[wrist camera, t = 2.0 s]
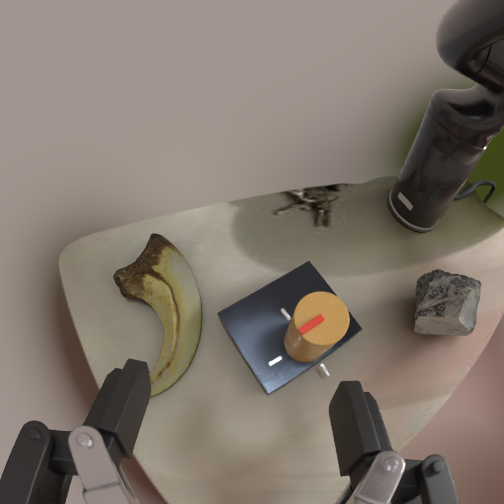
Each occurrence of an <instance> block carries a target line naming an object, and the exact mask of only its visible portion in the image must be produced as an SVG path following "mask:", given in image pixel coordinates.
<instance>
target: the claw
mask: <svg viewBox="0 0 504 504" xmlns="http://www.w3.org/2000/svg"><path fill="white" fill-rule="evenodd" d="M114 280H115V283H116V285H117V286H118V287H119V288H120V291H121V294H122V295H123V296H124V297H125V298H140V299H143V300H144V301H146V302H147V303H148V304H150V305H151V306H152V308H153V309H154V310H155V312H156V313H157V315H158V316H159V318H160V320H161V323H162V325H163V329H164V341H163V347H162V351H161V354H160V357H159V359H158V361H157V363H156V365H155V367H154V369H153V371H152V372H151V374H150V375H149V376H150V381H151V395H150V397H151V396H154V395H156V394H159V393H161V392H162V391H164V390H165V389H167V388H168V387H170V386H171V385H172V384H173V383H174V382H175V381H176V380H177V379H178V378H179V377H180V376H181V375H182V374H183V372H184V371H185V370H186V369H187V367H188V366H189V364H190V362H191V359H192V358H193V356H194V353H195V351H196V348H197V344H198V341H199V336H200V330H201V303H200V301H201V300H200V294H199V290H198V286H197V283H196V279H195V277H194V274H193V272H192V270H191V268H190V266H189V265H188V263H187V261H186V260H185V258H184V256H183V255H182V254H181V253H180V252H179V251H178V249H177V248H176V247H175V246H174V245H173V244H172V243H170V242H169V241H168V240H167V239H166V238H164V237H163V236H162V235H159V234H151V237H150V239H149V241H148V243H147V246H146V248H145V250H144V251H143V252H142V254H141V255H140V256H139V257H138V258H137V260H136V261H135V262H134V263H132V264H131V265H129V266H127V267H125V268H122V269H119V270H117V271H116V273H115V274H114Z"/></svg>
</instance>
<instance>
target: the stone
mask: <svg viewBox="0 0 504 504" xmlns="http://www.w3.org/2000/svg"><path fill="white" fill-rule="evenodd" d="M480 287H481V283H480V281H478V280H475V279H473V278H469V277H468V276H464V275H459V274H451V273H449V272H444V271H442V270H439V269H438V270H435V271H432V272H431V273H426V274H424V275H423V276H421V277H420V278H419V279H418V281H417V286H416V296H417V305H416V313H415V326H414V330H415V332H417V333H421V334H438V335H459V336H460V335H462V336H467V335H468V334H471V333H472V332H473V329H474V327H475V324H476V313H477V307H478V302H479V299H480Z"/></svg>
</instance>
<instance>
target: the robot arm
mask: <svg viewBox="0 0 504 504" xmlns="http://www.w3.org/2000/svg"><path fill="white" fill-rule="evenodd" d="M436 47H437V51H438V54H439V56H440V58H441V59H442V60H443V62H444V63H445V64H446V65H447V66H449V67H450V68H451V69H453V70H454V71H456V72H457V73H459V74H461V75H463V76H464V77H467V78H468V79H470V80H472V81H474V82H476V83H477V84H476V85H475V86H474V87H472V88H469V89H465V90H454V89H439V90H436V91H435V92H434V93H433V95H432V98H431V100H430V103H429V106H428V109H427V111H426V113H425V116H424V118H423V121H422V124H421V126H420V129H419V131H418V133H417V136H416V138H415V141H414V143H413V145H412V148H411V150H410V152H409V155H408V157H407V159H406V161H405V163H404V165H403V168H402V170H401V172H400V174H399V176H398V178H397V180H396V182H395V184H394V187H393V188H392V189H391V191H390V193H389V196H388V204H389V207H390V209H391V211H392V213H393V214H394V216H395V217H396V218H397V219H398V220H399V221H400V222H401V223H402V224H403V225H405V226H406V227H408V228H410V229H412V230H414V231H418V232H428V231H431V230H432V229H433V228H434V227H435V226H436V225H437V223H438V221H439V220H440V218H441V217H442V216H443V214H444V213H445V211H446V210H447V209H448V207H449V206H450V204H451V203H452V201H453V200H458V199H461V198H463V197H465V196H467V195H469V194H470V193H472V191H473V190H474V189H475V188H476V187H477V186H480V185H491V186H492V188H491V190H490V192H489V193H488V194H487V196H486V197H485V199H484V200H483V202H484V203H485V204H486V202H487V201H488V199H489V198H490V197H491V195H492V194H493V193H494V191H495V188H496V186H495V183H494V182H493V181H490V180H483V181H478V182H475V183H473V184H472V185H471V187H470V188H469V189H467V190H465V191H463V192H462V193H459V191H460V190H461V188H462V187H463V185H464V183H465V182H466V180H467V179H468V177H469V176H470V174H471V172H472V171H473V169H474V168H475V166H476V164H477V162H478V161H479V159H480V157H481V156H482V154H483V152H484V150H485V149H486V147H487V145H488V143H489V142H490V140H491V139H492V138H493V137H494V136H496V135H497V134H498V133H499V132H500V131H501V129H502V128H503V126H504V0H457V1H456V2H455V3H454V4H452V5H451V6H450V7H449V9H448V10H447V11H446V13H445V14H444V15H443V17H442V19H441V21H440V23H439V26H438V29H437V33H436ZM458 193H459V194H458ZM150 395H151V381H150V376H149V371H148V366H147V363H146V362H143V361H138V360H134V359H128V360H127V362H126V364H125V366H124V368H123V370H122V369H118V368H115V369H114V370H113V371H112V372H111V373H109V374H108V375H107V377H106V379H105V381H104V383H103V386H102V387H101V389H100V391H99V394H98V395H97V397H96V399H95V401H94V403H93V405H92V408H91V410H90V412H89V414H88V416H87V418H86V420H85V422H84V424H83V425H82V426H79V427H77V428H75V429H73V430H72V431H58V430H49V429H48V428H47V427H46V426H45V424H43V423H42V422H39V421H30V422H27V423H26V424H25V425H24V426H23V427H22V429H21V431H20V433H19V435H18V438H17V440H16V442H15V445H14V446H13V449H12V452H11V454H10V456H9V459H8V461H7V464H6V466H5V469H4V471H3V474H2V477H1V480H0V504H65V502H66V498H67V495H68V491H69V487H70V484H71V480H72V477H73V475H76V476H79V477H80V480H81V482H82V485H83V489H84V491H83V498H84V501H85V503H86V504H140V503H139V501H138V499H137V498H136V496H135V494H134V492H133V490H132V488H131V487H130V485H129V483H128V481H127V479H126V477H125V475H124V473H123V471H122V468H121V466H120V463H121V460H122V457H125V458H128V459H131V455H132V452H133V449H134V445H135V442H136V439H137V436H138V433H139V429H140V426H141V423H142V420H143V417H144V414H145V411H146V408H147V405H148V402H149V399H150ZM329 416H330V421H331V426H332V431H333V437H334V442H335V447H336V453H337V458H338V464H339V469H340V475H341V476H348V475H349V476H350V482H349V483H348V484H347V486H346V488H345V489H344V491H343V492H342V494H341V495H340V497H339V498H338V500H337V501H336V503H335V504H389V503H390V501H391V504H459V500H458V496H457V493H456V489H455V485H454V481H453V478H452V475H451V471H450V468H449V465H448V462H447V460H446V459H445V458H444V457H442V456H440V455H437V454H434V455H430V456H428V457H427V458H426V459H425V460H422V461H421V460H408V459H404V458H403V457H402V456H401V455H400V454H399V453H397V452H395V451H393V449H392V447H391V444H390V440H389V437H388V434H387V431H386V428H385V425H384V422H383V420H382V416H381V413H380V412H379V407H378V405H377V402H376V400H375V399H374V397H373V396H372V395H371V394H370V393H369V392H363V389H362V386H361V383H360V382H359V381H341V382H340V384H339V386H338V388H337V390H336V392H335V394H334V396H333V398H332V400H331V402H330V405H329Z"/></svg>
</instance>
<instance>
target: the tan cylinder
mask: <svg viewBox="0 0 504 504" xmlns="http://www.w3.org/2000/svg"><path fill="white" fill-rule="evenodd" d="M348 326H349V313H348V310H347V308H346V306H345V304H344V303H343V302H342V300H341V299H339V298H338V297H337V296H335V295H333V294H331V293H328V292H313V293H310V294H308V295H306V296H305V297H303V298H302V299H301V300H300V301H299V303H298V304H297V306H296V308H295V311H294V314H293V316H292V319H291V321H290V324H289V326H288V329H287V331H286V334H285V337H284V346H285V349H286V352H287V353H288V355H289V356H290V357H291V358H293V359H294V360H296V361H299V362H304V363H307V362H312V361H315V360H316V359H318V358H319V357H320V356H322V355H323V354H324V353H325V352H326V351H328V350H329V349H330V348H331V347H332V346H333V345H334V344H336V343H337V342H338V341H339V340H340V339H341V338H342V337H343V336H344V335H345V333H346V332H347V329H348Z"/></svg>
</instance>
